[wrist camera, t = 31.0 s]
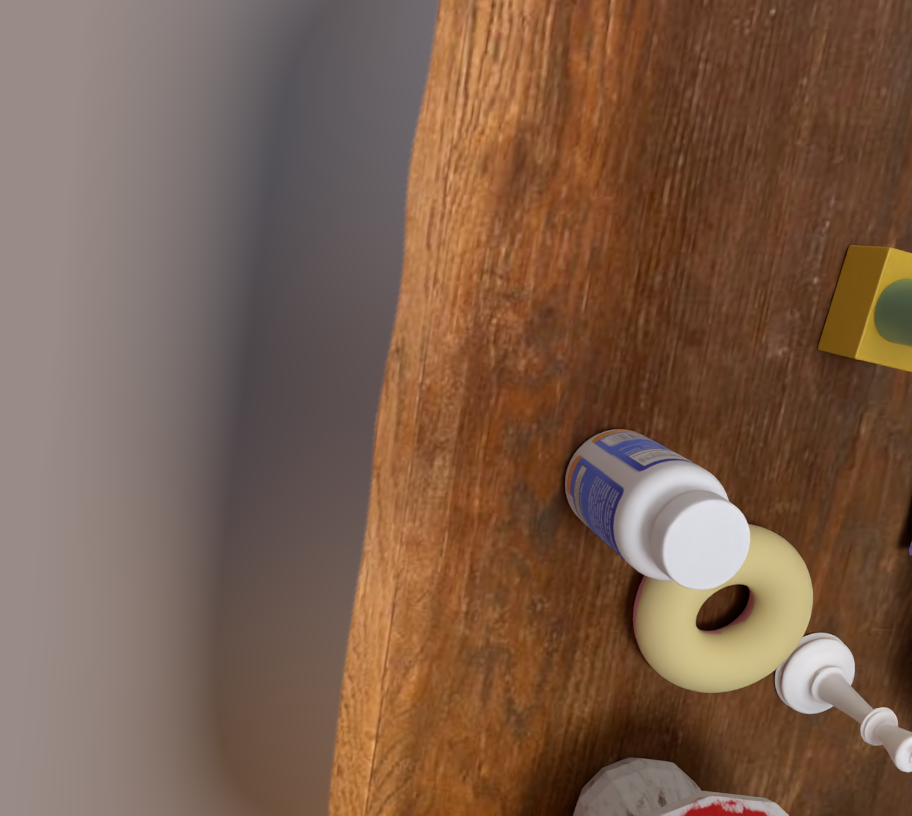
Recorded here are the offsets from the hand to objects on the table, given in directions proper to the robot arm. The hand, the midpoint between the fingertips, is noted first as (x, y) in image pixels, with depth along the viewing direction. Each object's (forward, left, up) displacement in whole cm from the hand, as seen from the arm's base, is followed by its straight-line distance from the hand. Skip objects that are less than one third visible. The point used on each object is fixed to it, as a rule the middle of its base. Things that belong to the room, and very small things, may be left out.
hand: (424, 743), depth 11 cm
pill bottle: (-2, +17, -30) cm, 34 cm away
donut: (+1, +26, -30) cm, 39 cm away
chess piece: (+2, +35, -30) cm, 46 cm away
